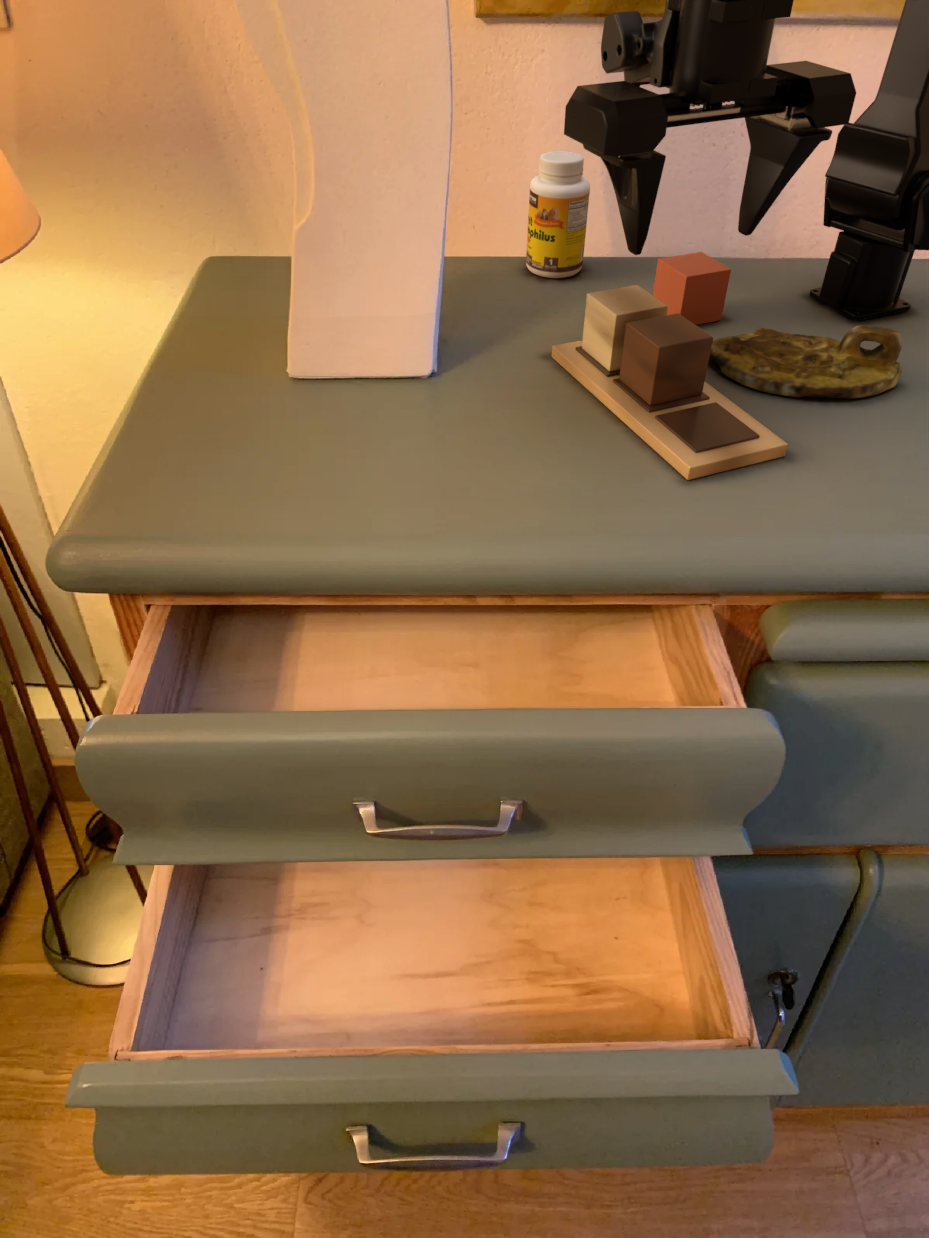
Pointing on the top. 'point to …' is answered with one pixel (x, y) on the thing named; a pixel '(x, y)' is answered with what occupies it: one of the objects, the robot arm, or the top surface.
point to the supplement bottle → (557, 216)
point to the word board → (677, 430)
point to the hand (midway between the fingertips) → (690, 243)
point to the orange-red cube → (692, 286)
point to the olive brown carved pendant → (811, 362)
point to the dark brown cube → (665, 358)
